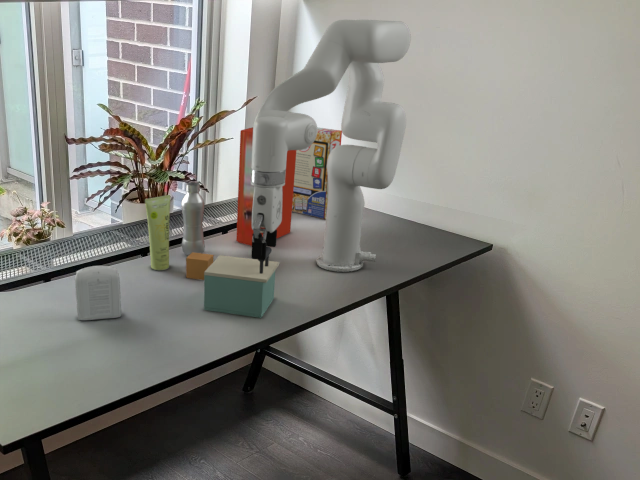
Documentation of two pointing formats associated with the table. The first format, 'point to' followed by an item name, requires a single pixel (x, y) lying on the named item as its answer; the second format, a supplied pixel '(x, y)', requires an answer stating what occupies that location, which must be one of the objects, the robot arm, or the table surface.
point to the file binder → (248, 191)
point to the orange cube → (198, 265)
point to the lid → (243, 268)
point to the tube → (158, 231)
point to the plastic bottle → (193, 220)
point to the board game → (314, 174)
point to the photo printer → (98, 293)
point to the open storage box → (238, 295)
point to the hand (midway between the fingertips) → (263, 252)
